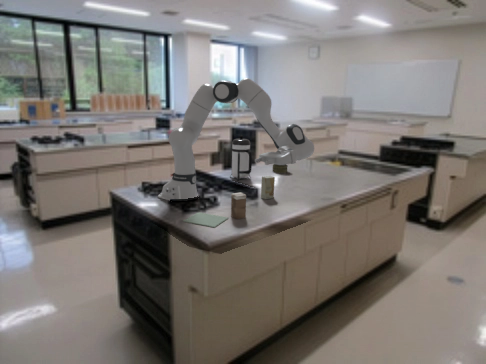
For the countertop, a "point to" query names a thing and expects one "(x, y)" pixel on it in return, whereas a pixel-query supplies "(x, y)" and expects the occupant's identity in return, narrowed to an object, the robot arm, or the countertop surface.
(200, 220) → the mat
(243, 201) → the block
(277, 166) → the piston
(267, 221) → the countertop surface
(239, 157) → the coffee press
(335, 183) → the countertop surface
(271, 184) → the skincare box
